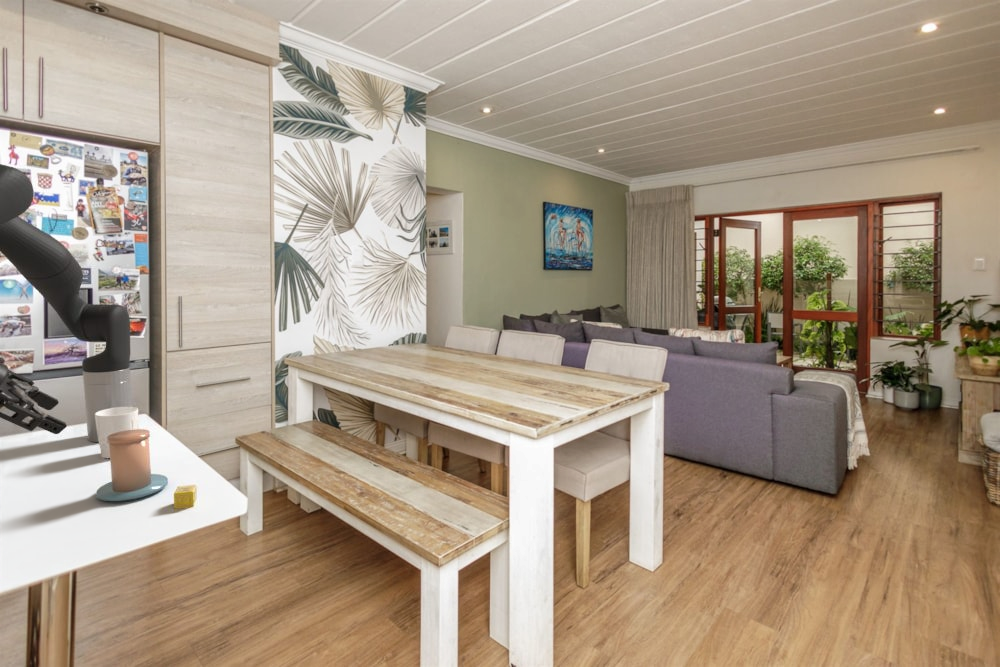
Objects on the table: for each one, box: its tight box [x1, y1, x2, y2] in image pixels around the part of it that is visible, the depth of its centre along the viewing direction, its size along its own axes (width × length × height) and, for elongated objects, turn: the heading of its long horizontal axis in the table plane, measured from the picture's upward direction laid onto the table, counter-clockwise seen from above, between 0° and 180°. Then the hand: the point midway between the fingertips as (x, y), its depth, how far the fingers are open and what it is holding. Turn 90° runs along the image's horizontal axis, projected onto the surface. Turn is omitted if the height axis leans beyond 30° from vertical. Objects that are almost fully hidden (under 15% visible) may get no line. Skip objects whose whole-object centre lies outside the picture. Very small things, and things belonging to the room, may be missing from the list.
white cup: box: [95, 406, 139, 459], centre depth 115 cm, size 8×8×10 cm
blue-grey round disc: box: [95, 473, 169, 502], centre depth 96 cm, size 11×11×1 cm
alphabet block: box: [173, 484, 198, 510], centre depth 91 cm, size 3×3×3 cm
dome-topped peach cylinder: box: [107, 428, 152, 492], centre depth 96 cm, size 6×6×10 cm
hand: (58, 417), depth 92 cm, fingers open, 8 cm apart
